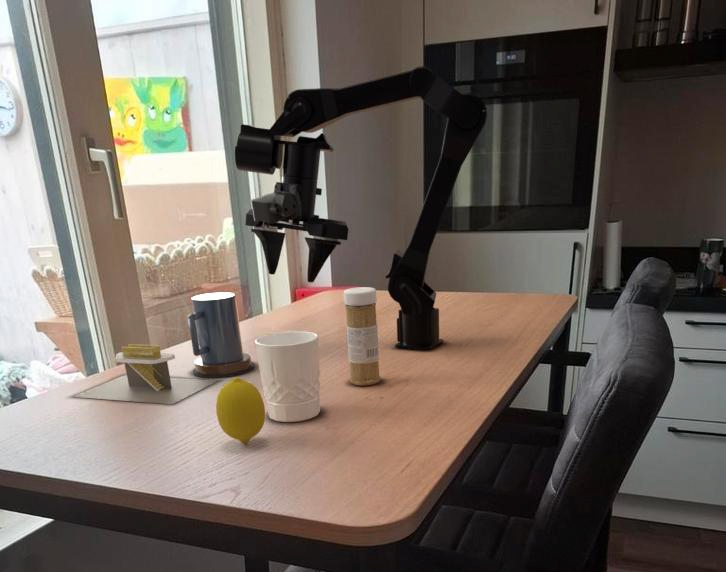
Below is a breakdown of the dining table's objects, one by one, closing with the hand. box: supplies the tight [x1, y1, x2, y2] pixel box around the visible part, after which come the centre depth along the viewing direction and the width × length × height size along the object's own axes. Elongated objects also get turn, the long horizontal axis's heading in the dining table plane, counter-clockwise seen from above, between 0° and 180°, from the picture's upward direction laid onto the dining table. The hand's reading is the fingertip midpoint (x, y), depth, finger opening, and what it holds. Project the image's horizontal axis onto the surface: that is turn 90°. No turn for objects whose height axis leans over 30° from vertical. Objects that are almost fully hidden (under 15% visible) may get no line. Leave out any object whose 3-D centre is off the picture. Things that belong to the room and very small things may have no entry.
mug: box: [187, 292, 252, 375], centre depth 111 cm, size 11×9×12 cm
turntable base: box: [192, 361, 256, 379], centre depth 115 cm, size 10×10×1 cm
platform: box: [72, 343, 218, 405], centre depth 105 cm, size 12×18×7 cm, turn 68°
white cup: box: [254, 330, 321, 423], centre depth 89 cm, size 8×8×10 cm
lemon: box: [215, 376, 266, 444], centre depth 81 cm, size 6×6×8 cm
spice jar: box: [343, 286, 381, 386], centre depth 100 cm, size 5×5×13 cm
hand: (290, 278), depth 118 cm, fingers open, 9 cm apart
